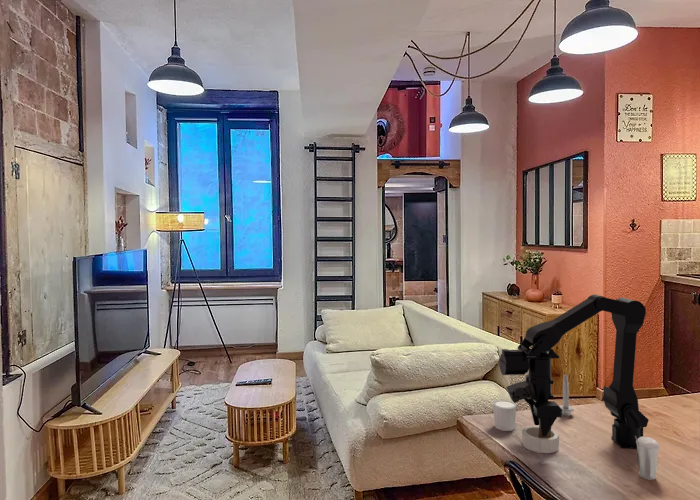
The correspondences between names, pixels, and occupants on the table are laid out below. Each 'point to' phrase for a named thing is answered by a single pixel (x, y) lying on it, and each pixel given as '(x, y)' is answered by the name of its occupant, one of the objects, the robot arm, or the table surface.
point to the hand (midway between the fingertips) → (540, 430)
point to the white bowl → (539, 440)
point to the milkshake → (647, 457)
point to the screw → (566, 398)
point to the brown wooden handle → (544, 436)
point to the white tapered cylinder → (504, 415)
